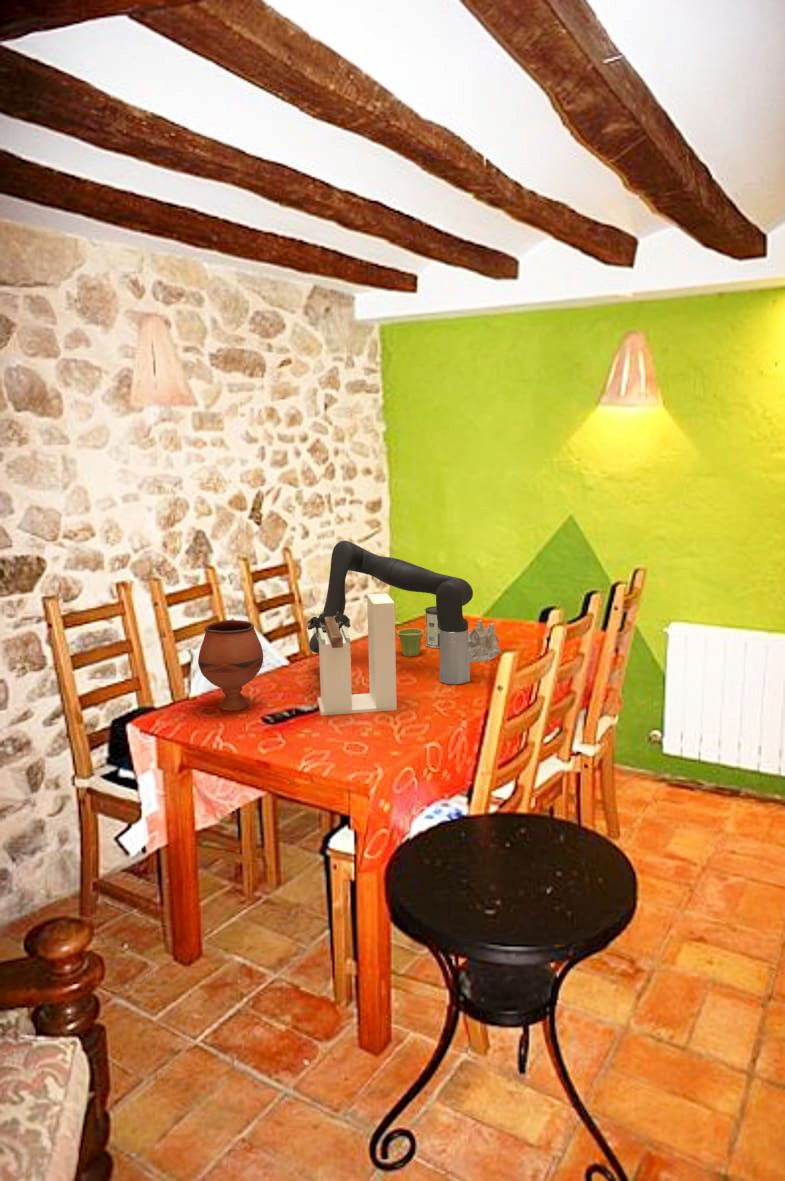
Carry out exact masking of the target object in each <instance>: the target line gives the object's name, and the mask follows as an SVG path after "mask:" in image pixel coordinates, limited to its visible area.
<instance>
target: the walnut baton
mask: <svg viewBox="0 0 785 1181" xmlns="http://www.w3.org/2000/svg"><path fill="white" fill-rule="evenodd" d="M324 622H325V629H326V632H327V635H328V637H329V640H330V643H331V646H332V648H341V647H343V636H342V634H341V632H342V631H341V629H340V630H339V627H338V625H337V623H336V620H335V618H334V617H325V620H324Z"/></svg>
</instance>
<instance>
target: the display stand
mask: <svg viewBox="0 0 785 1181" xmlns="http://www.w3.org/2000/svg"><path fill="white" fill-rule="evenodd" d="M366 599H367V600H366V601H367V603H366V604H367V636H368V638H367V640H368V641H367V642H368V645H367V647H368V675H369V676H368V678H369V679H368V680H369V681H368V682H369V684H368V685H369V693H356V694H354V693H353V694H352V690H353V689H352V688H353V687H352V664H351V663H352V662H351V661H352V660H351V637H350V635H349V633H348V630H347V627H345V626H342V628H341V631H340V632H341V634H342V636H343V647H341V648H332V646H331V643H330V640H329V637H328V635H327V633H323V631H322V628H318V635H319V654H318V656H319V658H318V659H319V661H318V662H319V679H320V680H319V682H320V696H317V703H318V708H319V712H320V713H319V714H320V716H333V715H346V714H347V715H350V714H360V713H361V714H362V713H377V712H388V711H389V712H390V711H397V662H396V614H395V612H396V611H395V609H396V608H395V606H396V605H395V602H394V600H393V599H392V598H391V596H389V594H388V593H371V594H368V593H367V594H366Z"/></svg>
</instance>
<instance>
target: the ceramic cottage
mask: <svg viewBox="0 0 785 1181" xmlns="http://www.w3.org/2000/svg"><path fill="white" fill-rule="evenodd" d="M476 624H477V625H476V627H473V628H472V629H473V630H472V631H468V652H469V653H470V663H474V662H481V663H483V662H482V661H488V662H490V661H489V660H492V659H494V658H495V657H496V656H497V655H498V654H499V653H500V652H501V653H502V650H501V649H500V648H499V646H500V645H499V641H500V639H499V638H498V636H497V635H496V630H495V624H494V623H489V624H488V628H485V625H484V623H483V621H482V620H481V619H480V620H478V621H477V623H476ZM492 661H493V660H492Z"/></svg>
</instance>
